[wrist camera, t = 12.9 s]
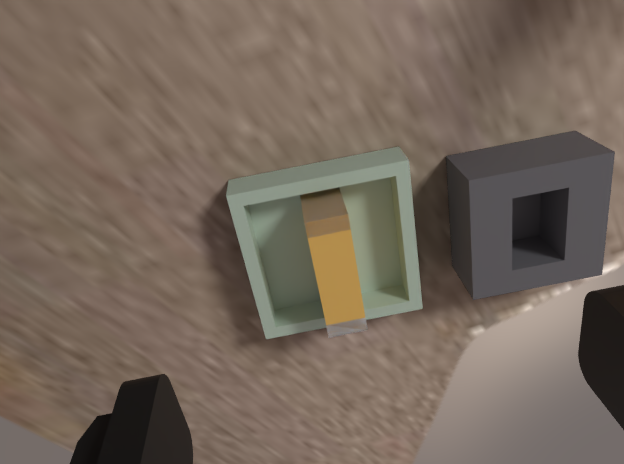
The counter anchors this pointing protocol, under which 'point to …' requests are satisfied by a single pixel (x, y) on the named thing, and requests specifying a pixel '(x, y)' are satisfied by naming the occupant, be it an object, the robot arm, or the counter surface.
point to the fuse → (334, 261)
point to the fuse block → (529, 213)
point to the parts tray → (295, 247)
